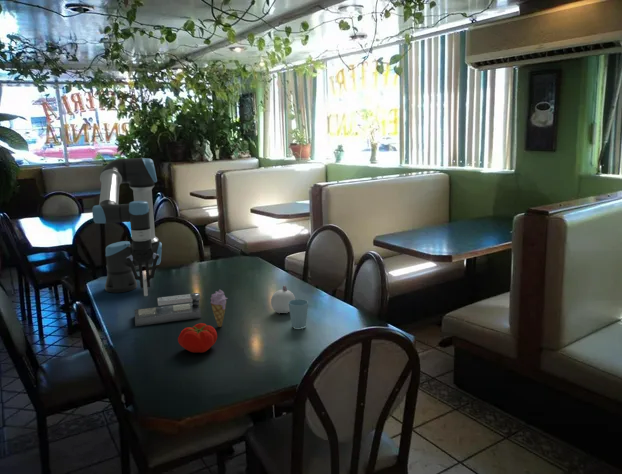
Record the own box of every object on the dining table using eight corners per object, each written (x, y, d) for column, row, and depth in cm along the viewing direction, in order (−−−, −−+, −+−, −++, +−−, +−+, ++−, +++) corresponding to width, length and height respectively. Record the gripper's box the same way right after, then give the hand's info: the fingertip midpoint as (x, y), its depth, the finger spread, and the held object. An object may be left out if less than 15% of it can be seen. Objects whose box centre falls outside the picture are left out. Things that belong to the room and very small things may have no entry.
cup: (302, 332, 194) (302, 306, 192) (285, 329, 197) (285, 303, 195) (311, 325, 200) (311, 300, 198) (294, 322, 204) (294, 298, 202)
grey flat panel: (157, 302, 214) (157, 296, 213) (199, 297, 220) (198, 291, 219) (158, 306, 209) (157, 300, 208) (200, 301, 214) (200, 295, 214)
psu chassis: (135, 316, 213) (134, 304, 212) (198, 308, 222) (197, 297, 221) (135, 326, 202) (134, 313, 201) (202, 317, 210) (201, 305, 209)
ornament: (299, 310, 217) (298, 284, 215) (288, 318, 208) (287, 290, 206) (278, 307, 222) (277, 281, 219) (267, 315, 213) (266, 288, 210)
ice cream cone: (231, 324, 202) (230, 289, 199) (224, 330, 196) (222, 293, 193) (217, 323, 204) (215, 287, 201) (209, 328, 198) (207, 292, 195)
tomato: (182, 361, 170) (181, 336, 168) (176, 347, 181) (175, 324, 180) (222, 353, 175) (221, 330, 174) (214, 340, 187) (213, 318, 185)
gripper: (124, 242, 198) (129, 299, 202) (158, 239, 202) (162, 295, 207) (124, 238, 204) (129, 294, 209) (157, 236, 209) (161, 290, 213)
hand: (145, 295), depth 208 cm, fingers closed
